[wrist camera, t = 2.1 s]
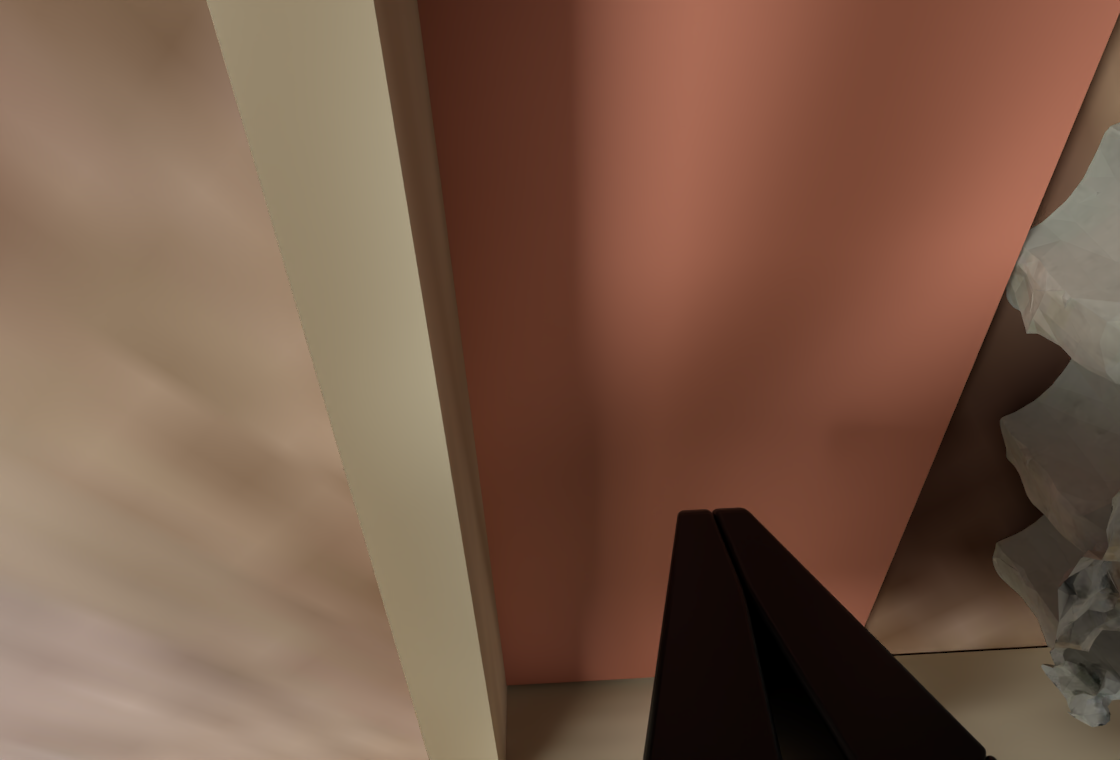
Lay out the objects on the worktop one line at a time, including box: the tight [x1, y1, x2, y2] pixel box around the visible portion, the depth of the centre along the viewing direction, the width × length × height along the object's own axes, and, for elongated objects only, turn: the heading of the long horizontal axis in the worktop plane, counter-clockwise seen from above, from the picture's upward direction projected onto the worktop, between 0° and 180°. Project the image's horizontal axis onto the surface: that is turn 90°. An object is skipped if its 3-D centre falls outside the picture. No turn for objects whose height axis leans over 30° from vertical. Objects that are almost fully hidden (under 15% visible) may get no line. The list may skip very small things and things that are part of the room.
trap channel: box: [206, 0, 1120, 760], centre depth 9 cm, size 18×17×2 cm
